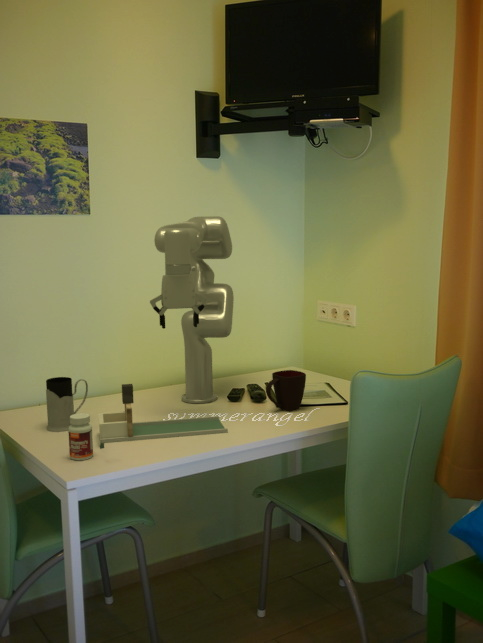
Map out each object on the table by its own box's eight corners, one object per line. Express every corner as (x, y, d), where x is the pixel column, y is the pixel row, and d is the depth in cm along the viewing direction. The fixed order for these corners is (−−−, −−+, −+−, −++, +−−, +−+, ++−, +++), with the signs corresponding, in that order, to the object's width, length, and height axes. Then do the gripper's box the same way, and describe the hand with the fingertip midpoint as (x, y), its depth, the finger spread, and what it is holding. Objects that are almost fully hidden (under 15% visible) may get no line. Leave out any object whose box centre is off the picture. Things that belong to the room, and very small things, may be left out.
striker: (122, 424, 198) (120, 380, 196) (132, 424, 198) (131, 379, 196) (125, 439, 184) (123, 391, 182) (136, 438, 185) (134, 390, 183)
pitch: (99, 433, 196) (98, 412, 196) (218, 423, 204) (218, 403, 203) (100, 448, 183) (99, 425, 182) (227, 437, 191) (227, 415, 190)
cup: (310, 409, 219) (310, 374, 217) (277, 416, 211) (276, 380, 209) (291, 403, 227) (291, 369, 225) (258, 410, 219) (258, 374, 217)
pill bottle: (69, 461, 173) (66, 419, 171) (70, 453, 179) (68, 413, 177) (93, 459, 174) (91, 418, 173) (93, 452, 180) (91, 411, 179)
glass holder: (41, 427, 203) (38, 380, 200) (81, 417, 213) (79, 372, 211) (56, 433, 197) (53, 384, 194) (96, 423, 207) (94, 376, 205)
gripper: (204, 269, 203) (205, 324, 206) (147, 270, 199) (149, 326, 202) (208, 270, 196) (209, 327, 198) (149, 272, 192) (151, 330, 195)
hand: (179, 327), depth 200 cm, fingers open, 9 cm apart
